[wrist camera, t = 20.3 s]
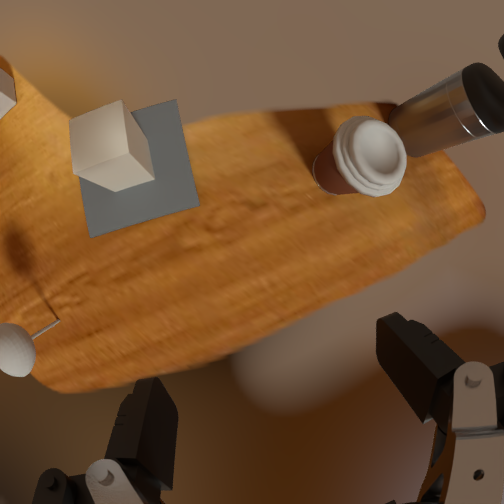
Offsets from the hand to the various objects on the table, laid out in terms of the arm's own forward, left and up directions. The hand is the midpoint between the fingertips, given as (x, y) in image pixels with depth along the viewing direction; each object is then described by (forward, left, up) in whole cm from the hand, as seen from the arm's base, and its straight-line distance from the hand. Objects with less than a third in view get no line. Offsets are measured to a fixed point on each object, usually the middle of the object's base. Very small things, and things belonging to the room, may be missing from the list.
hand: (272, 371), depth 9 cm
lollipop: (+26, +1, -26) cm, 37 cm away
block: (+8, -16, -26) cm, 31 cm away
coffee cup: (-17, -9, -26) cm, 33 cm away
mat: (+9, -16, -26) cm, 32 cm away
